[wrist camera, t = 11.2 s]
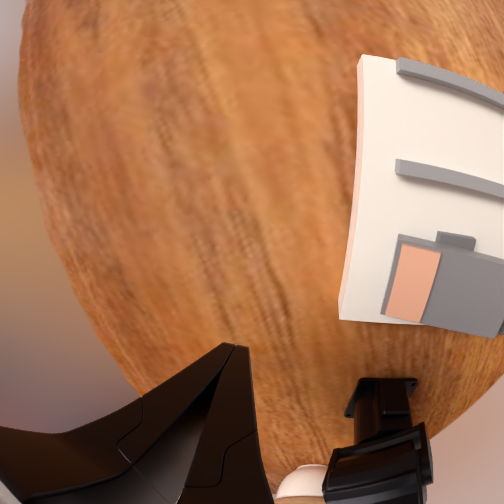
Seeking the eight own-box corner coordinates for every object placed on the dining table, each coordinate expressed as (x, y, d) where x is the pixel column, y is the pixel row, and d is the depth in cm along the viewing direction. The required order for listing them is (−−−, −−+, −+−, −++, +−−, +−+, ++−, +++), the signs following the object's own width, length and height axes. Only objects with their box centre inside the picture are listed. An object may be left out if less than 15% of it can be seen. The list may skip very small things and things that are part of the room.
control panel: (528, 310, 15) (548, 334, 11) (338, 300, 20) (340, 337, 16) (562, 143, 9) (592, 149, 5) (356, 65, 13) (367, 42, 9)
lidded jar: (269, 463, 33) (255, 511, 25) (330, 453, 29) (323, 509, 20) (302, 482, 35) (293, 523, 27) (357, 472, 31) (353, 518, 22)
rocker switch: (491, 329, 12) (495, 341, 11) (381, 304, 16) (379, 316, 15) (516, 262, 11) (524, 272, 9) (398, 233, 15) (398, 240, 13)
